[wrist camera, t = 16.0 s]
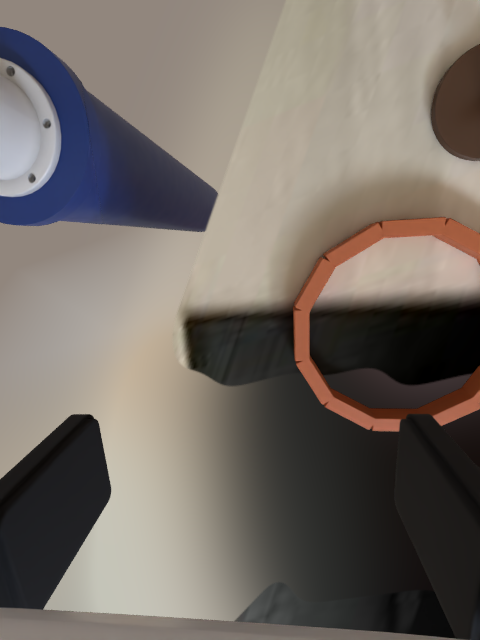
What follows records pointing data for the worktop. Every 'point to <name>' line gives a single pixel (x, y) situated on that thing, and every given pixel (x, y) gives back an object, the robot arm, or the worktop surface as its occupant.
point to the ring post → (459, 107)
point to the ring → (444, 229)
